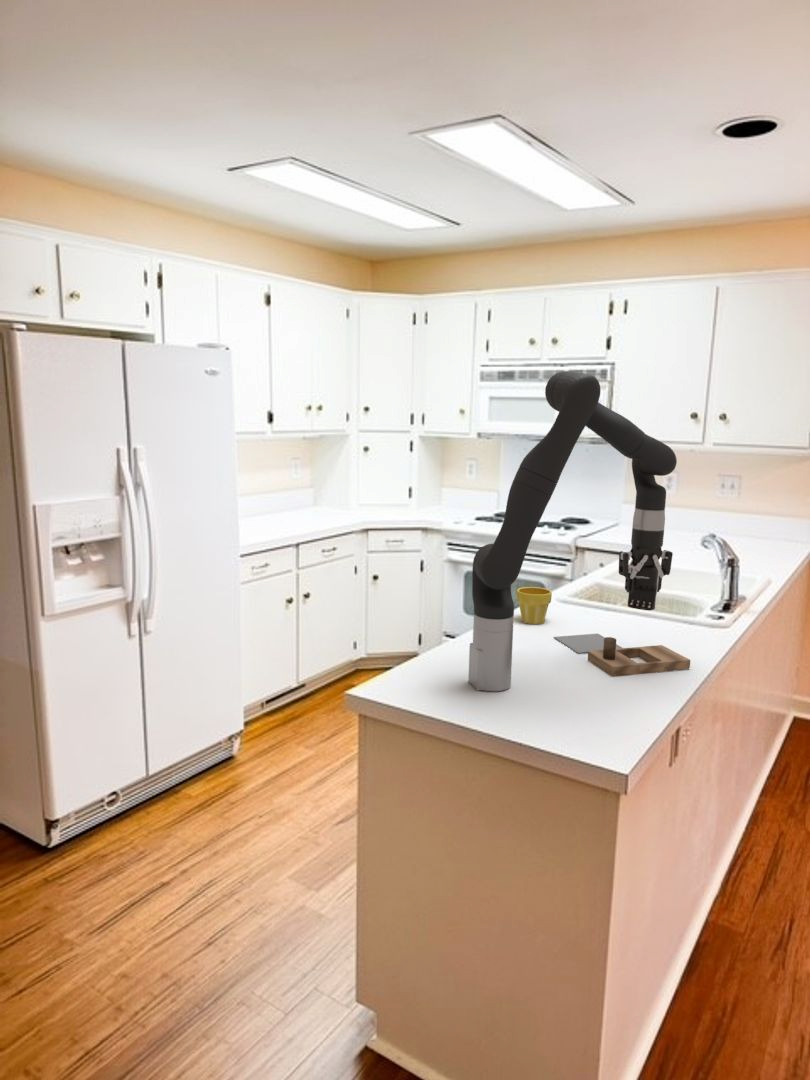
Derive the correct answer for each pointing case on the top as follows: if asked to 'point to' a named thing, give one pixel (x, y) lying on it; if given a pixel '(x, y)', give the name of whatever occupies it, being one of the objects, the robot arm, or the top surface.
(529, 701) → the top surface
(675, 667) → the plane body
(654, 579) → the battery charger
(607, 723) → the top surface
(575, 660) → the top surface
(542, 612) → the plant pot
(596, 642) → the rubber mat
